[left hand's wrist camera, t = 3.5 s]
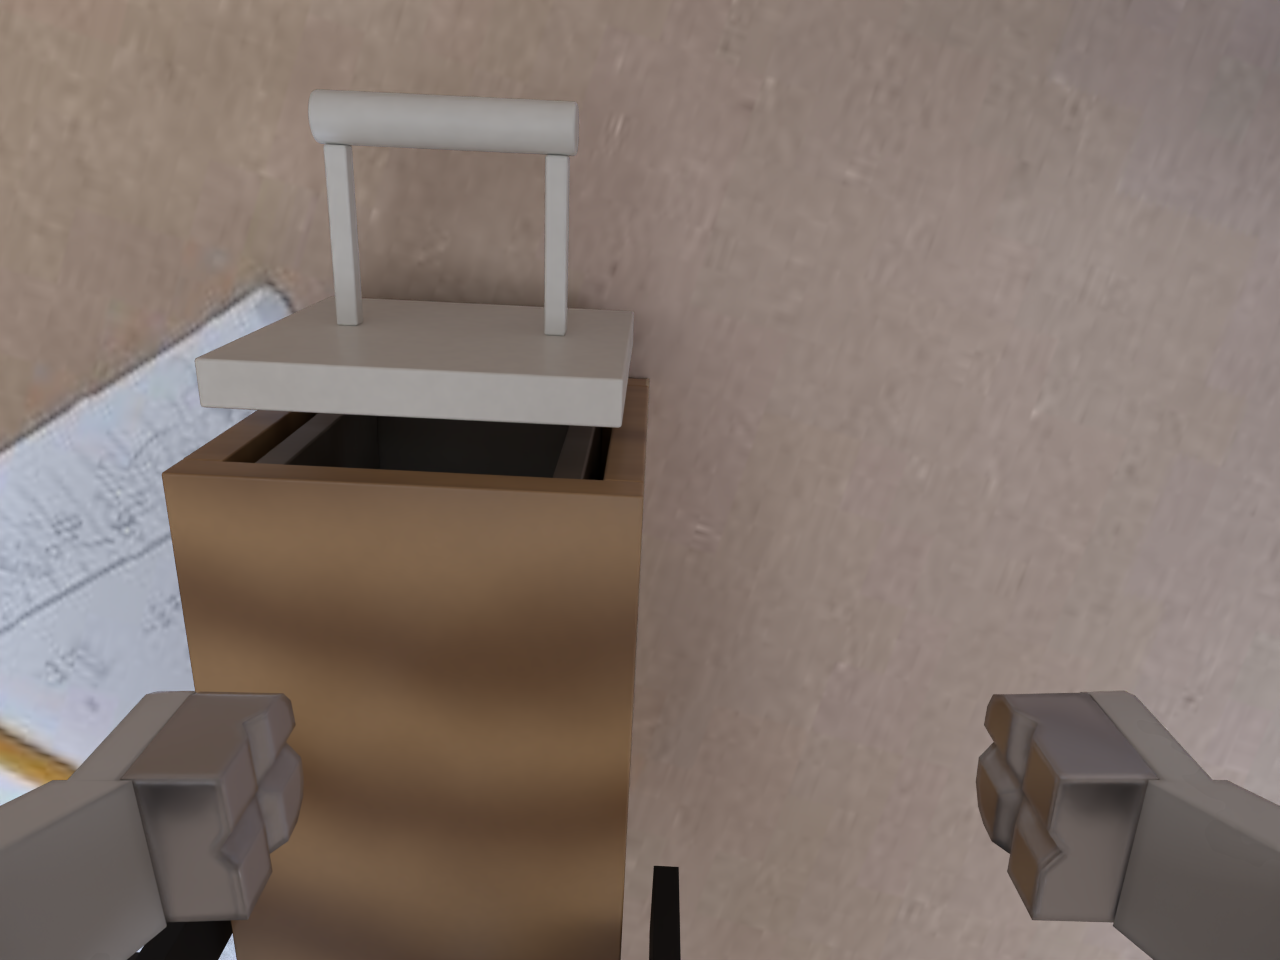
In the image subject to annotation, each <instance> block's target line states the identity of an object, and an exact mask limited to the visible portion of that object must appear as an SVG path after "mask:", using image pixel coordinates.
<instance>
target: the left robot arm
mask: <svg viewBox="0 0 1280 960" xmlns="http://www.w3.org/2000/svg"><path fill="white" fill-rule="evenodd" d="M295 726H296V723H295V718H294V713H293V708H292V703H291V700H290V699H289V698H288V697H287V696H286V695H285V694H284V693H250V692H202V691H200V692H195V691H157V692H154V693H150V694H146V695H145V696H144V697H143V698H142V699H141V700H140V701H139V703H138V704H137V705H136V706H135V707H134V708H133V709H132V710H131V711H130V712H129V713H128V715H127V716H126V717H125V718H124V719H123V720H122V721H121V722H120V723H119V724H118V725H117V727H116V728H115V729H114V730H113V731H112V732H111V733H110V734H109V735H108V736H107V737H106V739H105V740H104V741H103V742H102V743H101V744H100V745H99V746H98V747H97V748H96V749H95V750H94V752H93V753H92V754H91V755H90V756H89V757H88V758H87V759H86V760H85V761H84V762H83V764H82V765H81V766H80V767H79V768H78V769H77V770H76V771H75V772H74V773H73V774H72V776H71V777H70V778H69V779H68V780H52V781H50V782H48V783H46V784H44V785H42V786H40V787H38V788H36V789H34V790H32V791H30V792H28V793H26V794H24V795H22V796H20V797H18V798H16V799H14V800H11V801H9V802H7V803H5V804H3V805H1V806H0V960H127V959H128V958H129V957H131V956H132V955H133V954H134V953H135V952H137V951H138V950H139V949H140V948H141V947H143V946H144V945H145V944H146V943H147V942H149V941H150V940H151V939H152V938H153V937H155V936H156V935H157V934H158V933H160V932H161V931H162V930H163V929H164V928H166V926H167V924H166V922H192V921H227V920H248V919H249V917H250V915H251V913H252V911H253V909H254V907H255V905H256V903H257V901H258V899H259V897H260V895H261V893H262V891H263V890H264V888H265V886H266V884H267V882H268V880H269V878H270V876H271V874H272V872H273V870H272V864H271V859H270V854H271V853H272V852H273V851H275V850H276V849H278V848H279V847H281V846H282V845H283V844H285V843H286V842H288V841H289V839H290V836H291V834H292V832H293V830H294V828H295V826H296V824H297V822H298V818H299V813H300V809H301V804H302V800H303V787H304V774H303V767H302V760H301V757H300V756H299V755H298V754H297V753H296V752H295V751H294V750H293V749H292V748H291V747H290V746H289V744H288V743H287V742H286V741H287V739H288V738H289V736H290V734H291V732H292V731H293V729H294V727H295ZM984 726H985V727H986V729H987V731H988V732H989V734H990V736H991V738H992V739H993V741H994V742H993V743H992V744H991V745H990V747H989V748H988V749H987V750H986V751H985V752H984V753H983V754H982V755H981V756H980V757H979V761H978V769H977V777H976V788H977V799H978V807H979V811H980V814H981V817H982V821H983V824H984V826H985V828H986V830H987V832H988V834H989V837H990V839H991V841H992V842H994V843H995V844H997V845H998V846H999V847H1001V848H1002V849H1004V850H1005V851H1007V852H1008V853H1009V854H1010V859H1009V864H1008V870H1007V872H1008V874H1009V876H1010V878H1011V880H1012V882H1013V884H1014V886H1015V888H1016V889H1017V891H1018V893H1019V895H1020V897H1021V899H1022V901H1023V903H1024V905H1025V907H1026V909H1027V911H1028V913H1029V915H1030V916H1031V918H1032V920H1051V921H1087V922H1114V924H1113V926H1114V927H1115V928H1116V929H1117V930H1118V931H1120V932H1121V933H1122V934H1123V935H1124V936H1126V937H1127V938H1128V939H1129V940H1131V941H1132V942H1133V943H1134V944H1135V945H1137V946H1138V947H1139V948H1140V949H1141V950H1143V951H1144V952H1145V953H1146V954H1147V955H1149V956H1150V957H1151V958H1152V959H1153V960H1280V806H1279V805H1277V804H1275V803H1272V802H1270V801H1268V800H1266V799H1264V798H1262V797H1260V796H1258V795H1256V794H1254V793H1252V792H1250V791H1248V790H1246V789H1244V788H1242V787H1240V786H1238V785H1236V784H1234V783H1232V782H1230V781H1228V780H1212V779H1211V778H1210V777H1209V776H1208V774H1207V773H1206V772H1205V771H1204V770H1203V769H1202V768H1201V767H1200V766H1199V765H1198V764H1197V762H1196V761H1195V760H1194V759H1193V758H1192V757H1191V756H1190V755H1189V754H1188V753H1187V752H1186V750H1185V749H1184V748H1183V747H1182V746H1181V745H1180V744H1179V743H1178V742H1177V741H1176V740H1175V738H1174V737H1173V736H1172V735H1171V734H1170V733H1169V732H1168V731H1167V730H1166V729H1165V728H1164V726H1163V725H1162V724H1161V723H1160V722H1159V721H1158V720H1157V719H1156V718H1155V717H1154V716H1153V714H1152V713H1151V712H1150V711H1149V710H1148V709H1147V708H1146V707H1145V706H1144V705H1143V704H1142V703H1141V701H1140V700H1139V699H1138V698H1137V697H1136V696H1135V695H1133V694H1130V693H1128V692H1126V691H1099V692H1080V693H1045V694H993V696H992V698H991V700H990V702H989V704H988V706H987V711H986V717H985V723H984Z"/></svg>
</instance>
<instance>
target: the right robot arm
mask: <svg viewBox="0 0 1280 960" xmlns="http://www.w3.org/2000/svg"><path fill="white" fill-rule="evenodd" d="M166 924H167V926H166V928H164V929H163V930H162V931H161V932H160V933H158V934H157V935H156V936H155V937H153V938H152V939H151V940H150V941H149V942H147V943H146V944H145V945H144V947H143V948H142V950H141V951H140V952H135V953H134V954H133V955H132V956H131V957H129V958H128V959H127V960H218V959H219V957H220V955H221V953H222V952H223V950H224V948H225V946H226V944H227V942H228V940H229V939H230V937H231V935H232V933H233V932H232V925H231V920H227V921H192V922H166ZM649 960H681V959H680V912H679V867H667V866H654V873H653V888H652V904H651V919H650V943H649Z"/></svg>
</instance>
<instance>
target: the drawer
mask: <svg viewBox="0 0 1280 960" xmlns="http://www.w3.org/2000/svg"><path fill="white" fill-rule="evenodd" d="M308 117H309V124H310V128H311V132H312V135H313V137H314V139H315V140H316V141H317V142H318V143H320V144H325V145H324V159H325V172H326V186H327V199H328V212H329V225H330V238H331V252H332V265H333V278H334V291H335V297H329V298H327V299H324V300H322V301H320V302H318V303H316V304H313V305H311V306H309V307H307V308H305V309H303V310H300V311H298V312H296V313H294V314H292V315H289V316H287V317H285V318H283V319H281V320H279V321H276V322H274V323H272V324H270V325H268V326H265V327H263V328H261V329H259V330H257V331H255V332H252V333H250V334H248V335H246V336H244V337H241V338H239V339H237V340H235V341H233V342H231V343H228V344H226V345H224V346H222V347H220V348H217V349H215V350H213V351H211V352H209V353H207V354H204V355H202V356H200V357H198V358H196V359H195V366H196V374H197V381H198V388H199V396H200V403H201V406H202V407H209V408H229V409H250V410H270V411H290V412H311V413H318V414H317V415H315V416H314V417H313V418H312V419H310V420H309V421H308V422H306V423H305V424H304V425H303V426H301V427H300V428H299V429H297V430H296V431H295V432H294V433H292V434H291V435H290V436H289V437H287V438H286V439H285V440H283V441H282V442H281V443H280V444H278V445H277V446H276V447H274V448H273V449H272V450H271V451H269V452H268V453H267V454H265V455H264V456H263V457H262V458H260V459H259V460H258V461H257V462H255V463H263V464H283V465H303V466H323V467H343V468H363V469H383V470H404V471H424V472H444V473H464V474H484V475H504V476H525V477H545V478H565V479H585V480H601V456H602V427H615V428H619V427H621V425H622V419H623V412H624V405H625V397H626V390H627V383H628V376H629V369H630V362H631V354H632V347H633V328H634V312H632V311H618V310H597V309H577V308H567V303H568V240H569V177H570V158H569V156H575V155H576V154H577V151H578V142H579V109H578V104H577V102H575V101H554V100H533V99H512V98H492V97H471V96H450V95H429V94H408V93H387V92H366V91H345V90H324V89H316V90H313V91H312V93H311V95H310V98H309V104H308ZM350 145H357V146H378V147H398V148H419V149H440V150H461V151H482V152H503V153H523V154H544V155H546V157H545V261H544V307H535V306H515V305H494V304H474V303H453V302H433V301H412V300H392V299H371V298H362V293H361V277H360V262H359V247H358V231H357V216H356V201H355V185H354V170H353V154H352V147H351V146H350Z"/></svg>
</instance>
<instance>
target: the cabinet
mask: <svg viewBox="0 0 1280 960" xmlns="http://www.w3.org/2000/svg"><path fill="white" fill-rule="evenodd" d="M648 400H649V379H647V378H646V379H634V378H628V383H627V390H626V397H625V405H624V412H623V419H622V425H621V427H619V428H615V427H602V456H601V480H585V479H565V478H545V477H525V476H504V475H484V474H464V473H444V472H424V471H404V470H383V469H363V468H343V467H323V466H303V465H283V464H263V463H255V462H257V461H258V460H259V459H260V458H262V457H263V456H264V455H265V454H267V453H268V452H269V451H271V450H272V449H273V448H274V447H276V446H277V445H278V444H280V443H281V442H282V441H283V440H285V439H286V438H287V437H289V436H290V435H291V434H292V433H294V432H295V431H296V430H297V429H299V428H300V427H301V426H303V425H304V424H305V423H306V422H308V421H309V420H310V419H312V418H313V417H314V416H315V415H317V414H318V413H311V412H290V411H270V410H257V411H255V412H254V413H252V414H251V415H249V416H248V417H246V418H245V419H243V420H242V421H240V422H239V423H237V424H236V425H234V426H232V427H231V428H229V429H228V430H226V431H225V432H223V433H222V434H220V435H219V436H217V437H216V438H214V439H213V440H211V441H210V442H208V443H207V444H205V445H204V446H202V447H200V448H199V449H197V450H196V451H194V452H193V453H191V454H190V455H188V456H187V457H185V458H184V459H183V460H181V461H180V462H178V463H176V464H175V465H173V466H172V467H170V468H169V469H167V470H166V471H164V472H163V473H162V480H163V486H164V492H165V499H166V505H167V512H168V518H169V525H170V531H171V538H172V544H173V551H174V557H175V564H176V570H177V576H178V583H179V589H180V596H181V602H182V609H183V615H184V622H185V628H186V635H187V641H188V648H189V654H190V660H191V667H192V673H193V680H194V686H195V692H200V691H202V692H250V693H284V694H285V695H286V696H287V697H288V698H289V699H290V700H291V703H292V708H293V713H294V718H295V723H296V726H295V727H294V729H293V731H292V732H291V734H290V736H289V738H288V739H287V741H286V742H287V743H288V744H289V746H290V747H291V748H292V749H293V750H294V751H295V752H296V753H297V754H298V755H299V756H300V757H301V760H302V767H303V774H304V787H303V800H302V804H301V809H300V813H299V818H298V822H297V824H296V826H295V828H294V830H293V832H292V834H291V836H290V839H289V841H288V842H286V843H285V844H283V845H282V846H281V847H279V848H278V849H276V850H275V851H273V852H272V853H271V854H270V859H271V864H272V870H273V872H272V874H271V876H270V878H269V880H268V882H267V884H266V886H265V888H264V890H263V891H262V893H261V895H260V897H259V899H258V901H257V903H256V905H255V907H254V909H253V911H252V913H251V915H250V917H249V919H248V920H231V925H232V932H233V938H234V945H235V951H236V958H237V960H620V959H621V939H622V919H623V899H624V879H625V859H626V839H627V819H628V801H629V781H630V761H631V741H632V721H633V701H634V681H635V660H636V640H637V620H638V600H639V580H640V560H641V540H642V520H643V500H644V480H645V460H646V440H647V420H648Z"/></svg>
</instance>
